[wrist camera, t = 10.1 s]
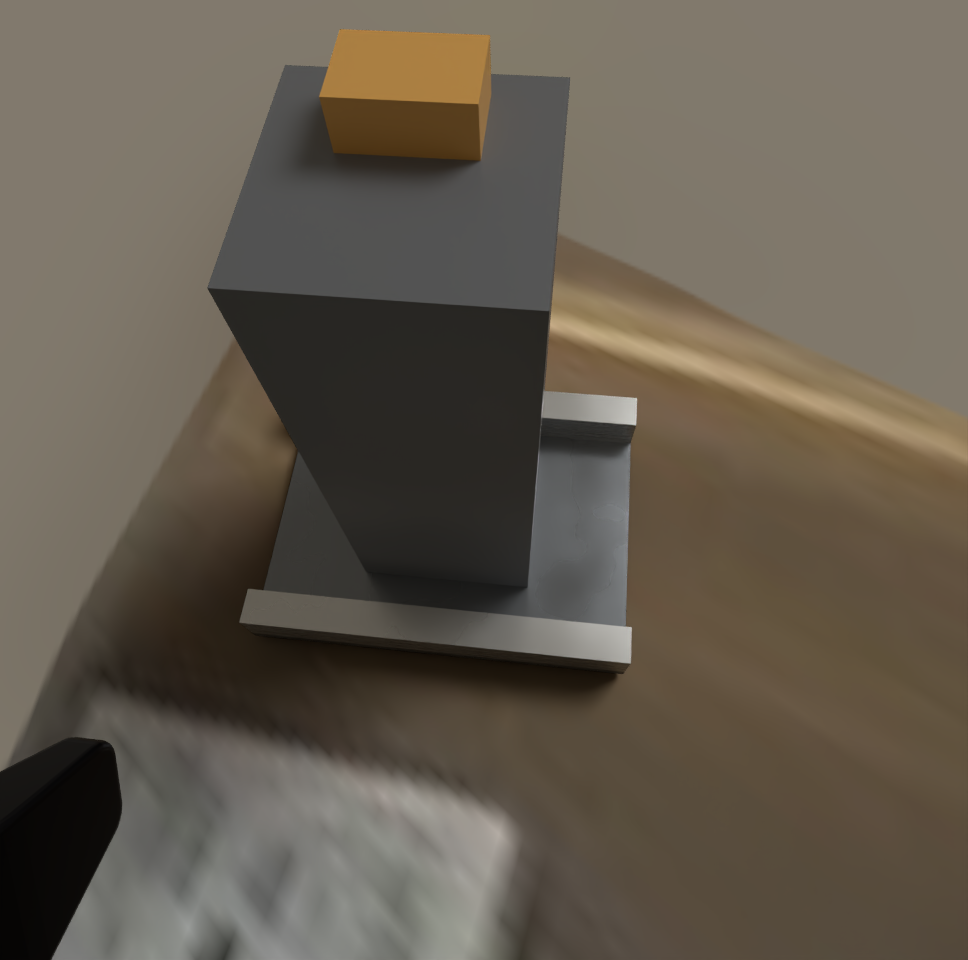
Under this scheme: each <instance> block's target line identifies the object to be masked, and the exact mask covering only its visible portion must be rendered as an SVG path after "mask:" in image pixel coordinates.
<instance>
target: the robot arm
mask: <svg viewBox="0 0 968 960" xmlns="http://www.w3.org/2000/svg"><path fill="white" fill-rule="evenodd" d="M121 813H122V798H121V791H120V784H119V777H118V770H117V763H116V756H115V751H114V748H113V747H112V745H111V744H110V743H108V742H106V741H103V740H95V739H87V738H78V737H74V738H67V739H65V740H62V741H60V742H58V743H56V744H54V745H52V746H50V747H48V748H46V749H44V750H42V751H40V752H38V753H36V754H34V755H32V756H30V757H28V758H26V759H24V760H22V761H20V762H18V763H16V764H14V765H12V766H10V767H8V768H7V769H5V770H3V771H1V772H0V960H51V959H52V957H53V955H54V953H55V951H56V949H57V947H58V945H59V943H60V941H61V939H62V937H63V935H64V933H65V931H66V929H67V927H68V925H69V924H70V922H71V920H72V918H73V916H74V914H75V912H76V910H77V908H78V906H79V904H80V902H81V900H82V898H83V896H84V894H85V892H86V890H87V888H88V886H89V884H90V882H91V880H92V878H93V876H94V874H95V872H96V870H97V868H98V866H99V864H100V862H101V860H102V858H103V856H104V854H105V852H106V850H107V848H108V846H109V844H110V842H111V840H112V838H113V836H114V834H115V832H116V830H117V828H118V825H119V822H120V818H121Z"/></svg>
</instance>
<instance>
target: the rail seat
mask: <svg viewBox="0 0 968 960" xmlns="http://www.w3.org/2000/svg"><path fill="white" fill-rule="evenodd" d="M636 414H637V398H627V397H614V396H601V395H588V394H575V393H562V392H549V391H544V403H543V415H542V427H541V439H540V451H539V462H538V474H537V485H536V497H535V508H534V520H533V531H532V543H531V554H530V566H529V577H528V587H520V586H509V585H499V584H489V583H478V582H468V581H458V580H447V579H437V578H427V577H416V576H406V575H396V574H385V573H375V572H366V571H365V569H364V567H363V566H362V564H361V562H360V560H359V558H358V557H357V555H356V553H355V551H354V550H353V548H352V546H351V544H350V542H349V541H348V539H347V537H346V535H345V533H344V532H343V530H342V528H341V526H340V524H339V523H338V521H337V519H336V517H335V516H334V514H333V512H332V510H331V508H330V507H329V505H328V503H327V501H326V499H325V498H324V496H323V494H322V492H321V490H320V489H319V487H318V485H317V483H316V482H315V480H314V478H313V476H312V474H311V473H310V471H309V469H308V467H307V465H306V464H305V462H304V460H303V458H302V456H301V455H300V453H299V451H298V454H297V458H296V462H295V466H294V470H293V474H292V478H291V482H290V486H289V490H288V494H287V498H286V502H285V506H284V510H283V514H282V518H281V522H280V526H279V530H278V534H277V538H276V542H275V546H274V550H273V554H272V558H271V562H270V566H269V570H268V574H267V578H266V582H265V586H264V590H255V589H248V591H247V595H246V598H245V602H244V606H243V610H242V614H241V618H240V621H239V623H240V624H242V625H243V626H244V627H246V628H247V629H248V630H249V631H251V632H252V633H253V634H255V635H257V636H267V637H276V638H286V639H295V640H305V641H314V642H324V643H333V644H342V645H352V646H361V647H371V648H380V649H390V650H399V651H409V652H418V653H428V654H437V655H447V656H456V657H466V658H475V659H485V660H494V661H503V662H513V663H522V664H532V665H541V666H551V667H560V668H570V669H579V670H589V671H598V672H608V673H617V674H623V673H624V672H625V671H626V669H627V668H628V667H629V665H630V664H631V630H632V627H626V592H627V554H628V517H629V480H630V443H631V440H632V437H633V434H634V431H635V427H636Z"/></svg>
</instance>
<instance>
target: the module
mask: <svg viewBox="0 0 968 960" xmlns="http://www.w3.org/2000/svg"><path fill="white" fill-rule="evenodd" d="M569 86H570V78H568V77H544V76H522V75H499V74H497V75H496V74H491V60H490V35H471V34H469V35H468V34H446V33H421V32H393V31H370V30H344V29H340V31H339V34H338V37H337V40H336V44H335V47H334V50H333V53H332V57H331V60H330V63H329V67H314V66H292V65H285V67H284V70H283V73H282V76H281V79H280V82H279V84H278V87H277V90H276V93H275V96H274V99H273V101H272V105H271V107H270V110H269V113H268V116H267V118H266V121H265V124H264V127H263V130H262V133H261V136H260V138H259V141H258V144H257V147H256V150H255V153H254V156H253V159H252V161H251V164H250V167H249V170H248V173H247V176H246V179H245V181H244V185H243V187H242V190H241V193H240V196H239V199H238V202H237V204H236V207H235V210H234V213H233V216H232V219H231V222H230V225H229V227H228V230H227V233H226V237H225V239H224V242H223V245H222V247H221V250H220V253H219V256H218V259H217V262H216V265H215V267H214V270H213V273H212V276H211V279H210V282H209V285H208V290H209V292H210V294H211V295H212V297H213V299H214V301H215V302H216V304H217V306H218V308H219V310H220V311H221V313H222V315H223V317H224V319H225V321H226V322H227V324H228V326H229V327H230V329H231V331H232V333H233V335H234V337H235V338H236V340H237V342H238V344H239V346H240V347H241V349H242V351H243V353H244V354H245V356H246V358H247V360H248V362H249V363H250V365H251V367H252V369H253V371H254V372H255V374H256V376H257V378H258V380H259V381H260V383H261V385H262V387H263V388H264V390H265V392H266V394H267V396H268V397H269V399H270V401H271V403H272V405H273V406H274V408H275V410H276V412H277V414H278V415H279V417H280V419H281V421H282V422H283V424H284V426H285V428H286V430H287V431H288V433H289V435H290V437H291V439H292V440H293V442H294V444H295V446H296V448H297V449H298V451H299V453H300V455H301V456H302V458H303V460H304V462H305V464H306V465H307V467H308V469H309V471H310V473H311V474H312V476H313V478H314V480H315V482H316V483H317V485H318V487H319V489H320V490H321V492H322V494H323V496H324V498H325V499H326V501H327V503H328V505H329V507H330V508H331V510H332V512H333V514H334V516H335V517H336V519H337V521H338V523H339V524H340V526H341V528H342V530H343V532H344V533H345V535H346V537H347V539H348V541H349V542H350V544H351V546H352V548H353V550H354V551H355V553H356V555H357V557H358V558H359V560H360V562H361V564H362V566H363V567H364V569H365V571H366V572H375V573H385V574H396V575H406V576H416V577H427V578H437V579H447V580H458V581H468V582H478V583H489V584H499V585H509V586H520V587H528V577H529V566H530V554H531V543H532V531H533V520H534V508H535V497H536V485H537V474H538V462H539V451H540V439H541V427H542V415H543V403H544V390H545V378H546V366H547V354H548V342H549V329H550V317H551V305H552V293H553V281H554V269H555V256H556V244H557V232H558V219H559V207H560V195H561V183H562V170H563V158H564V145H565V135H566V122H567V110H568V98H569Z"/></svg>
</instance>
